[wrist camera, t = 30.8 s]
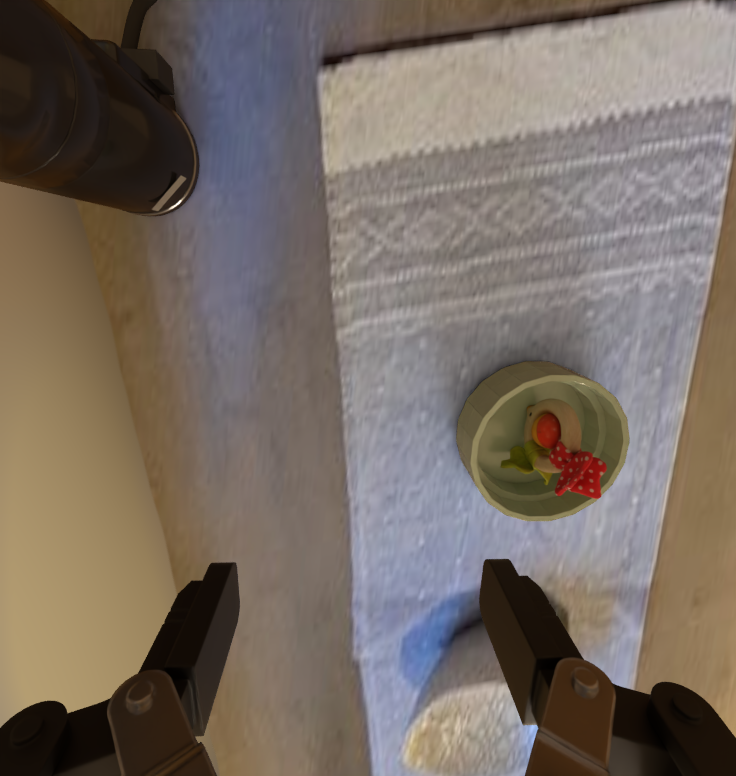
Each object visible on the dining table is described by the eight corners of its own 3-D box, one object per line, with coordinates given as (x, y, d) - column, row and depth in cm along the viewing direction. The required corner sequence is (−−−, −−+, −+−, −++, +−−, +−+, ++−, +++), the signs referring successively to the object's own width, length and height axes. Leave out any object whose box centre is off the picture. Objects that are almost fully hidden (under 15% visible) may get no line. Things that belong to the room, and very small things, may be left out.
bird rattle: (495, 402, 46) (496, 486, 45) (546, 390, 35) (548, 502, 34) (550, 404, 46) (552, 487, 45) (617, 393, 35) (622, 503, 34)
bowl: (461, 359, 43) (479, 374, 37) (604, 360, 44) (644, 375, 38) (449, 490, 47) (464, 522, 41) (580, 489, 48) (611, 520, 42)
